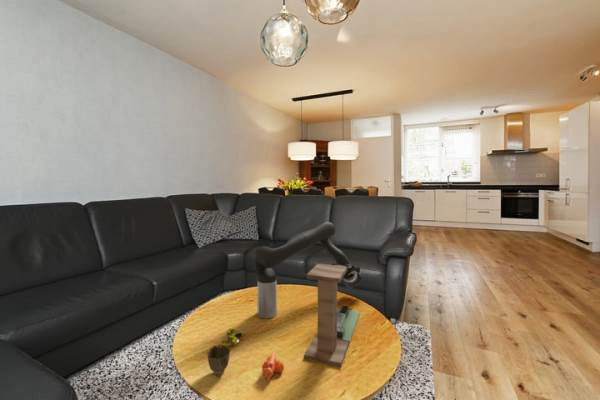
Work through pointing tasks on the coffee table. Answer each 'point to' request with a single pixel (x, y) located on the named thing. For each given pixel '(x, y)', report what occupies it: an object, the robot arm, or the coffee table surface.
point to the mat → (349, 324)
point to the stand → (327, 317)
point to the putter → (342, 321)
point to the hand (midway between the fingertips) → (343, 266)
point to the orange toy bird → (272, 366)
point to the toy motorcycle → (232, 337)
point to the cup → (218, 359)
